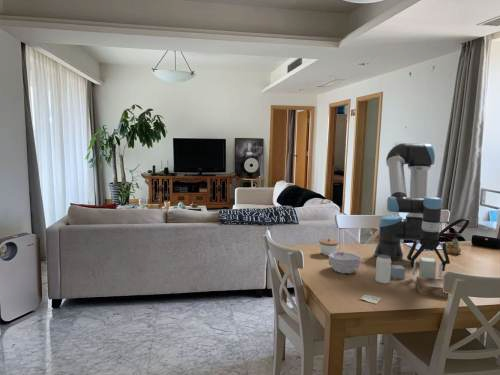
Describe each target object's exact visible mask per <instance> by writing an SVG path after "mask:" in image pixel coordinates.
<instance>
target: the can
mask: <svg viewBox="0 0 500 375" xmlns="http://www.w3.org/2000/svg"><path fill="white" fill-rule="evenodd" d="M391 265H392V260H391V257H390V256H388V255H378V257H376V264H375V277H374V278H375V281H376V282H377V283H378V282H379V284H382V283H383V284H384V285H385V284H389V283H390V282H391V275H390V274H391Z"/></svg>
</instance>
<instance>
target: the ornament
mask: <svg viewBox="0 0 500 375" xmlns="http://www.w3.org/2000/svg"><path fill="white" fill-rule="evenodd" d="M446 251H447V254H450V255H451V254H453V255H460V254H461V253H462V248H461V247H460V244H459V240H458V237H456V236H455V237H453V239H452V240H451V241H449V242H447V243H446Z"/></svg>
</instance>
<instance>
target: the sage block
mask: <svg viewBox="0 0 500 375" xmlns="http://www.w3.org/2000/svg"><path fill="white" fill-rule="evenodd" d="M436 270H437V261H436V260H435V258H434V257H433V258H432V257H423V256H422V257H421V256H420V257H419V268H418V277H426V278H435V279H436Z"/></svg>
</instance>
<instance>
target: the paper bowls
mask: <svg viewBox="0 0 500 375" xmlns="http://www.w3.org/2000/svg"><path fill="white" fill-rule="evenodd" d="M328 265H329V266H331V268H332V269H333V271H335V272H336V271H337V273H339V272H340V273H339V274H345V273H348V274H353V273H355V271H356V270H357V269H359V268H361V267H360V266H361V256H360V255H358V254H357V253H353V252H349V251H348V252H347V251H337V252H333V253H330V254H329V256H328Z"/></svg>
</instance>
